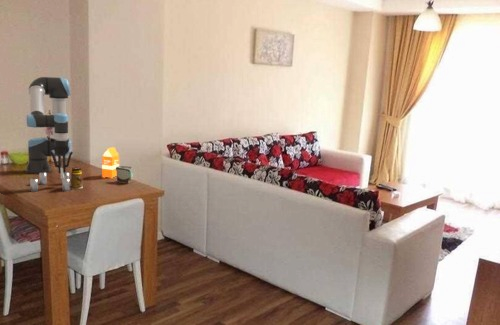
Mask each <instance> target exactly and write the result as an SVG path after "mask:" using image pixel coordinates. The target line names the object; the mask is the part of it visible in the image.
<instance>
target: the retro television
mask: <svg viewBox="0 0 500 325" xmlns="http://www.w3.org/2000/svg"><path fill="white" fill-rule="evenodd" d="M115 170H116V174H117V177H116V182H118V183H122V184H126V183H127V185H129V183H131V179H132V172H133V168H132V167H131V166H127V165H122V166H121V165H119V166H117V167H116V169H115Z"/></svg>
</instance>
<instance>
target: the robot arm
mask: <svg viewBox="0 0 500 325" xmlns="http://www.w3.org/2000/svg"><path fill="white" fill-rule="evenodd" d="M28 94H29V96H30V98H29V101H30V103H29V104H30V106H29V107H30V110H29V111H30V112H29V114H27V115H26V127H29V128H52V135H51V136H50V139H48V138H47V137H46V136H44V137H42V136H41V137H34V138H33V137H32V138H30V139H29V140H28V141H27V151H28V154H27V155H28V162H27V163H26V164H27V165H26V168H25V173H28V174H35V175H36V174H38V175H39V173H41V172H46V173H47V174H48V173H51V170H52V169H51V166H50V164H49V161H48V157H52V161H53V164H54V167H55V168H57V169H58V173H59V174H60V180H62V179H63V178H64V173H65V172H67V171H66V170H67V169H66V168H69V166H70V162H71V159H72V155H73V154H74V151H73V150H71V146H72V140H71V139H70V137H69V115H68V114H67V100H68V99H69V97H70V96H71V89H70V84H69V80H68V79H67V78H65V77H49V76H40V77H38V78H35V79H34V80H33V81H32V82H30V84H29V86H28ZM45 95H46V96H49V99H50V100H51V111H52V113H51V114H45V104H44V102H45V101H44V96H45ZM67 156H68V158H67V163H66V157H67ZM56 157H57V158H56Z"/></svg>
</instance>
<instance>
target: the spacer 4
mask: <svg viewBox="0 0 500 325" xmlns="http://www.w3.org/2000/svg"><path fill="white" fill-rule="evenodd" d="M70 181H71V178H70V177H69V178H63V179H61V183H62V184H61V185H62V186H61V189H62V191H63V192H69V191H70V190H71V189H70V186H71V184H70V183H71V182H70Z"/></svg>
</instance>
